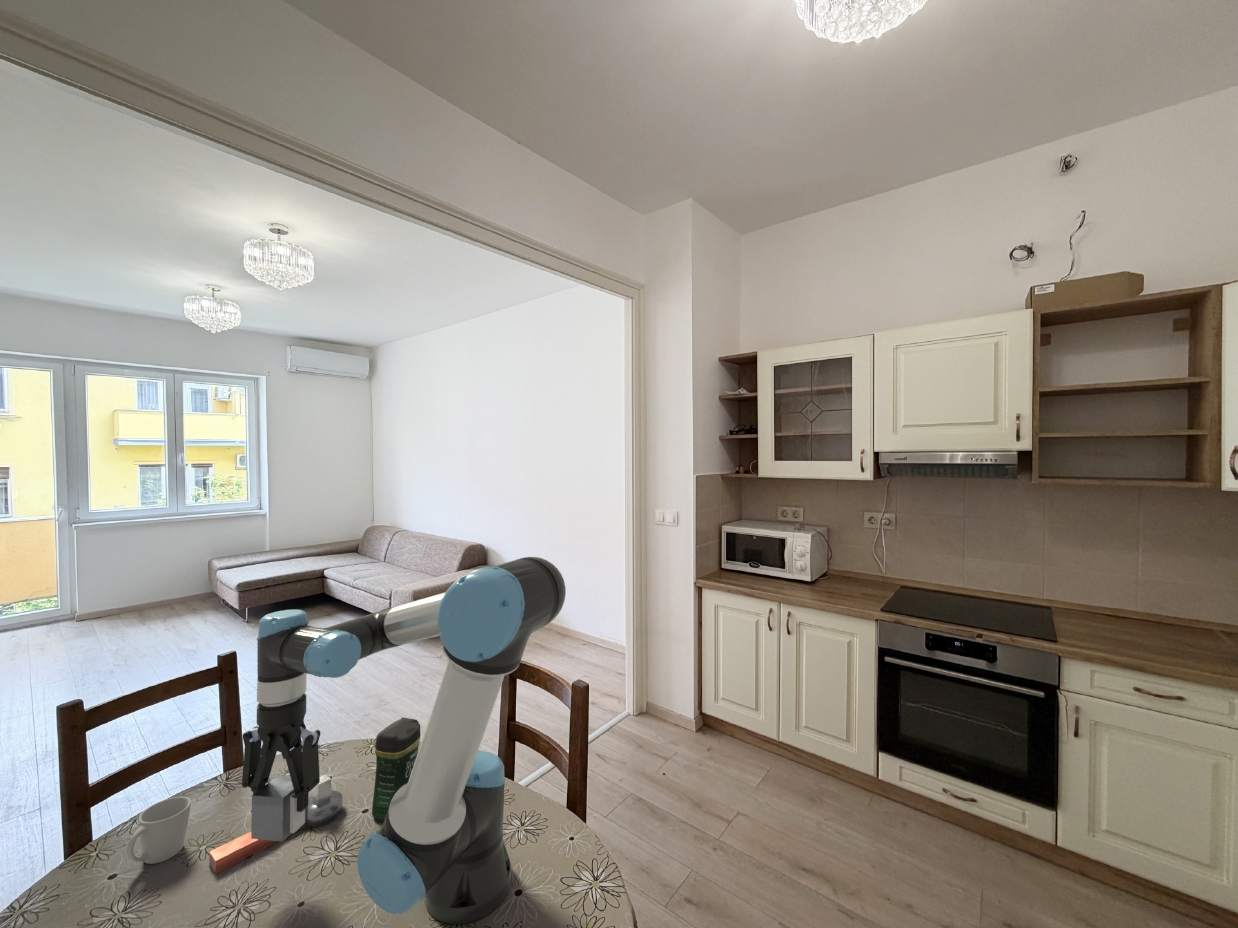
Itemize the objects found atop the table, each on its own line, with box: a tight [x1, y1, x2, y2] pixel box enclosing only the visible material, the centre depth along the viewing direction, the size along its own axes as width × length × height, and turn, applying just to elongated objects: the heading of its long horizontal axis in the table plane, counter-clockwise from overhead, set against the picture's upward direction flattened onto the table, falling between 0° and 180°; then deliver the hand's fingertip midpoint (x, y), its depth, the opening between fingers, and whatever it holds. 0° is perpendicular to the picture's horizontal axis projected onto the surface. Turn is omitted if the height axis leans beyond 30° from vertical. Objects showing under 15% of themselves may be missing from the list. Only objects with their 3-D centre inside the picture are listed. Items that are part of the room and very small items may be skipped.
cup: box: [126, 796, 192, 865], centre depth 95 cm, size 8×10×8 cm
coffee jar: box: [371, 717, 421, 822], centre depth 110 cm, size 10×8×19 cm
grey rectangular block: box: [250, 774, 308, 842], centre depth 90 cm, size 6×6×8 cm
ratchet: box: [208, 773, 343, 875], centre depth 102 cm, size 23×8×8 cm, turn 144°
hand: (280, 825), depth 90 cm, fingers closed on grey rectangular block, 6 cm apart
